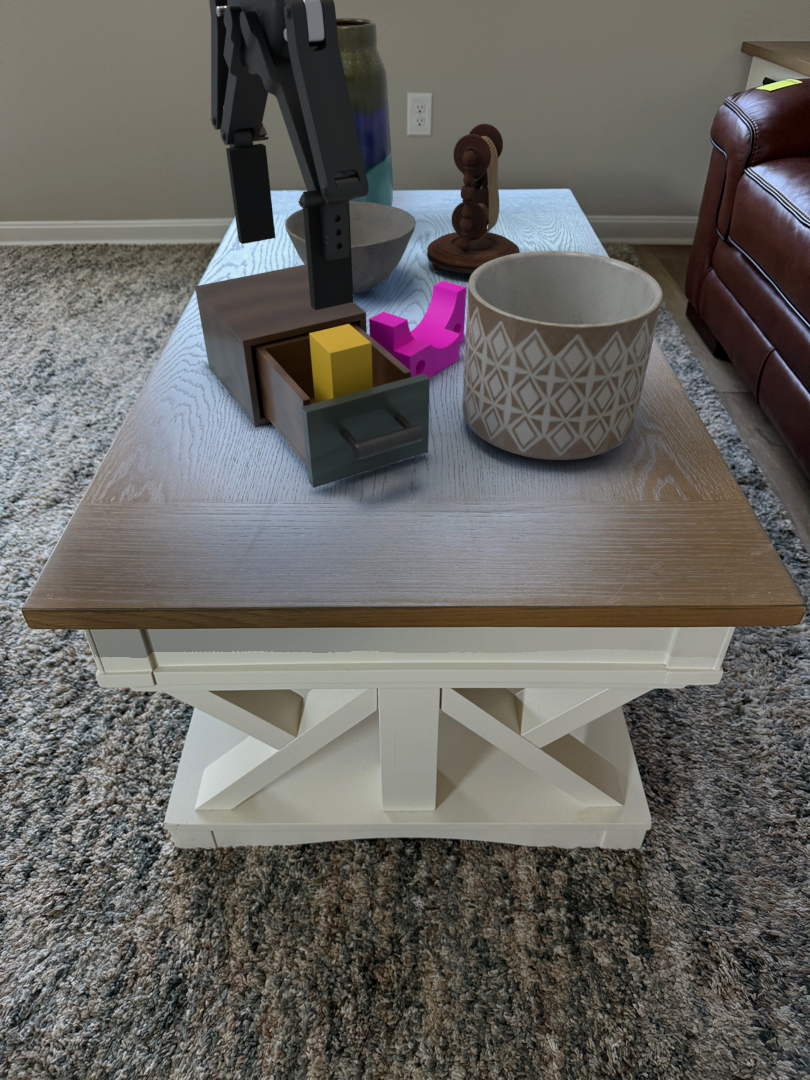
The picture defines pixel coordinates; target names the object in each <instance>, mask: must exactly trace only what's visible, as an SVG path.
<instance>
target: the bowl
mask: <svg viewBox="0 0 810 1080" xmlns="http://www.w3.org/2000/svg"><path fill="white" fill-rule="evenodd" d="M349 211H350V233H351V255H352V278H353V294H362V293H365V292H369V291H372V290H374V289H375V288H377V287H378V286H380V285H382V284H383V283H384V282H385V281H387V279H388V278H389V277H390V276H391V275H392V274H393V272H394V271H395V269H396V268H397V267H398V265H399V263H400V261H401V259H402V258H403V256H404V253H405V252H406V250H407V247H408V244H409V242H410V240H411V238H412V236H413V234H414V232H415V228H416V226H417V225H416V224H417V223H416V222H417V221H416V219H415V217H414V216H413V215H412V214H411V213H409V212H408V211H406V210H404V209H402V208H399V207H395V206H393V205H392V206H387V205H383V204H378V203H372V202H357V201H349ZM284 227H285V231H286V233H287V235H288V237H289V239H290V241H291V243H292V245H293V247H294V249H295V251H296V253H297V255H298V256H299V258H300V260H301V261H302V264H303V265H305V264H307V253H306V241H305V228H304V216H303V208H301V209H298V210H296V211H295V212H293V213H292V214H290V215H289V216H288V217H287V218H286V219H285V222H284Z"/></svg>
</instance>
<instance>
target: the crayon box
mask: <svg viewBox="0 0 810 1080" xmlns="http://www.w3.org/2000/svg"><path fill="white" fill-rule="evenodd" d="M309 337H310V349H311V360H312V372H313V384H314V396H315V403H318V402H321V401H325V400H329V399H332V398H336V397H340V396H344V395H347V394H351V393H355V392H358V391H362V390H366V389H369V388H373V380H372V347H371V342H370V341H369V340H367V339H366V338H365V337H364V336H363V335H362V334H360V333H359V332H358V331H357V330H356V329H354V328H353V327H352V326H351V325H350V324H346V325H342V326H338V327H334V328H329V329H325V330H321V331H317V332H313V333H309Z"/></svg>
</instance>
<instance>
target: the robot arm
mask: <svg viewBox="0 0 810 1080" xmlns="http://www.w3.org/2000/svg"><path fill="white" fill-rule="evenodd" d="M208 4H209V12H210V122H211V126H212V127H213V128H214V130H216V131H217V130H220V138H221V140H222V142H223V144H224V146H228V147H226V148H225V151H226V158H227V167H228V174H229V179H230V180H229V181H230V188H231V195H232V196H231V197H232V203H233V210H234V218H235V225H236V233H237V239H238V240H237V241H238V242H239V243H240V244H241V245H245V244H251V243H256V242H262V241H267V240H272V239H276V230H275V219H274V211H273V203H272V202H273V200H272V193H271V192H272V191H271V184H270V173H269V172H270V171H269V163H268V155H267V154H268V153H267V146H266V145H265V144H264V143H255V142H260V141H261V142H262V141H268V140H269V138H270V137H269V136H268V132H267V130H266V128H265V126H264V123H263V121H264V117H265V116H264V115H265V112H266V106H267V101H268V96H269V94H271V95H273V96H274V97H275V98H276V101H277V103H278V107H279V109H280V113H281V115H282V119H283V122H284V126H285V128H286V132H287V134H288V138H289V140H290V144H291V146H292V149H293V152H294V156H295V158H296V161H297V164H298V167H299V170H300V173H301V176H302V181H303V183H304V185H305V188H306V190H305V191H303V192H302V194H301V195H300V197H299V200H298V202H297V203H298V204H299V207H300V208H301V209H303V216H304V228H305V241H306V253H307V265H308V277H309V290H310V302H311V307H312V308H313V309H315V310H320V309H324V308H329V307H333V306H338V305H342V304H347V303H351V302H354V303H355V300H354V293H353V278H352V255H351V233H350V211H349V201H350V200H352V199H354V198H358V197H363V196H367V194H368V191H369V186H368V180H367V175H366V171H365V166H364V162H363V157H362V152H361V148H360V143H359V138H358V134H357V129H356V125H355V120H354V115H353V111H352V106H351V102H350V97H349V92H348V88H347V83H346V78H345V74H344V69H343V65H342V60H341V55H340V51H339V46H338V35H337V23H336V19H337V12H336V5H335V0H208ZM254 143H255V144H254ZM334 177H335V178H334Z"/></svg>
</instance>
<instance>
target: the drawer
mask: <svg viewBox="0 0 810 1080" xmlns="http://www.w3.org/2000/svg"><path fill="white" fill-rule="evenodd" d="M350 325H351V326H352V327H353V328H354V329H356V330H357V331H358V332H359V333H360V334H362V335H363V336H364V337H365V338H366V339H367V340H369V341H370V342H371V347H372V380H373V388H369V389H366V390H362V391H358V392H355V393H351V394H347V395H344V396H340V397H336V398H332V399H329V400H325V401H321V402H318V403H315V396H314V384H313V372H312V360H311V349H310V337H309V334H308V335H303V336H299V337H295V338H291V339H286V340H282V341H278V342H274V343H269V344H265V345H260V346H256V347H255V352H256V360H257V367H258V374H259V382H260V389H261V397H262V404H263V411H264V414H265V416H266V417H267V418H268V419H269V421H270V423H271V425H272V426H273V427H274V428H275V429H276V431H277V432H278V433H279V435H280V436H281V437H282V439H284V441H285V443H287V444H288V446H289V447H290V448H291V450H292V451H293V452H294V453H295V455H297V457H298V458H299V459H300V461H301V462H302V463H303V464H304V466H305V468H307V476H308V483H309V485H311V487H312V488H313V489H315V488H318V487H321V486H325V485H328V484H332V483H334V482H338V481H341V480H344V479H346V478H350V477H353V476H356V475H360V474H362V473H366V472H370V471H373V470H375V469H379V468H382V467H385V466H388V465H391V464H395V463H398V462H401V461H404V460H407V459H410V458H413V457H417V456H420V455H423V454H427V453H429V435H430V433H429V431H430V390H431V389H430V387H431V383H430V382H431V377H430V378H428V377H427V376H426V375H425V374H421V375H417V376H414V377H411V371H410V370H409V369H408V368H406V367H405V366H404V365H403V364H402V363H401V362H399V361H398V360H397V359H396V358H395V357H394V356H392V355H391V354H390V353H389V352H388V351H387V350H385V349H384V348H383V347H382V346H381V345H380V344H378V343H377V342H376V341H375V340H374V339H373V338H371V337H370V334H368V332H367V333H366V332H364V331H363V330H362V329H361V328H360V327H359V326H358V325H356V324H355V323H354V324H350Z"/></svg>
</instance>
